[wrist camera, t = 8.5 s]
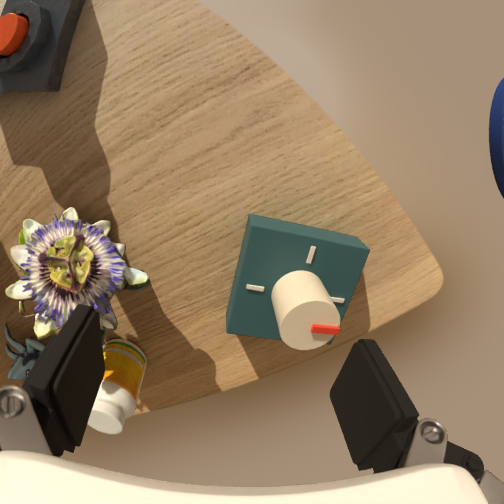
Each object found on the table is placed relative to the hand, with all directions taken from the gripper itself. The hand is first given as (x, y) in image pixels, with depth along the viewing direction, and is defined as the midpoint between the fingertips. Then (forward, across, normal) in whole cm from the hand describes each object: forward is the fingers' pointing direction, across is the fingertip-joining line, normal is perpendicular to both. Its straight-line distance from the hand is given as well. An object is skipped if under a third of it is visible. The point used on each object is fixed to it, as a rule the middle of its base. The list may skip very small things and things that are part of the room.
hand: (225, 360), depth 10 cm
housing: (+16, +21, -15) cm, 30 cm away
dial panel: (+16, -7, +4) cm, 18 cm away
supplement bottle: (+16, +9, +17) cm, 25 cm away
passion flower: (+16, +12, +6) cm, 21 cm away
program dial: (+13, -7, +4) cm, 15 cm away
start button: (+13, +21, -15) cm, 28 cm away
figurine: (+17, +21, +20) cm, 33 cm away
